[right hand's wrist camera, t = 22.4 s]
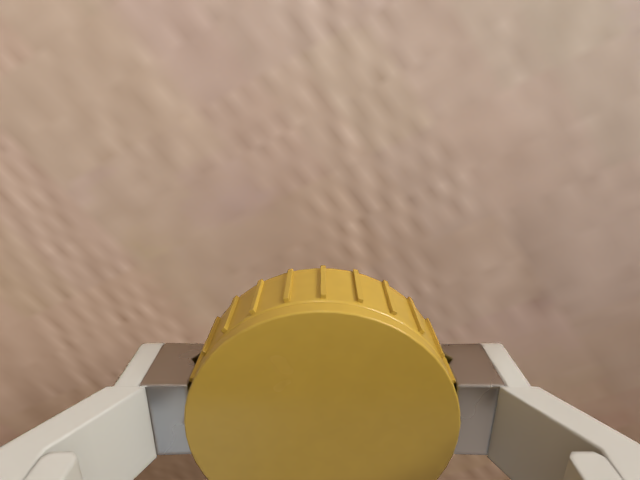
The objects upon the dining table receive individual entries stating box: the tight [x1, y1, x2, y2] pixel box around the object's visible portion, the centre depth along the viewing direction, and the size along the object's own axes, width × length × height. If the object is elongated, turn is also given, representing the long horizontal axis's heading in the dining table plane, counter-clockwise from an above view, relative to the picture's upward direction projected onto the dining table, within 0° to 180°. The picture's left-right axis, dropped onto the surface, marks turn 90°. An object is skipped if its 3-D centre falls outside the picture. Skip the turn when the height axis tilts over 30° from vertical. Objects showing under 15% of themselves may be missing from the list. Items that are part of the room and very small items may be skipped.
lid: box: [184, 266, 460, 480], centre depth 9 cm, size 6×6×2 cm
